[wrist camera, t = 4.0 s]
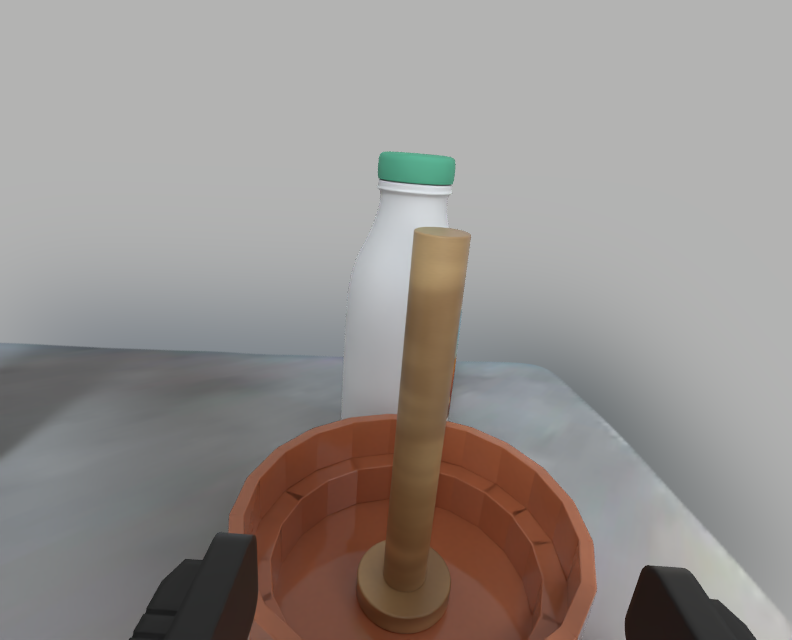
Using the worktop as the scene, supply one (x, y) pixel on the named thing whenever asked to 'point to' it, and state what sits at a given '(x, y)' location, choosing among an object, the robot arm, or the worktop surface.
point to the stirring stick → (419, 442)
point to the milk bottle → (389, 279)
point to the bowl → (451, 538)
